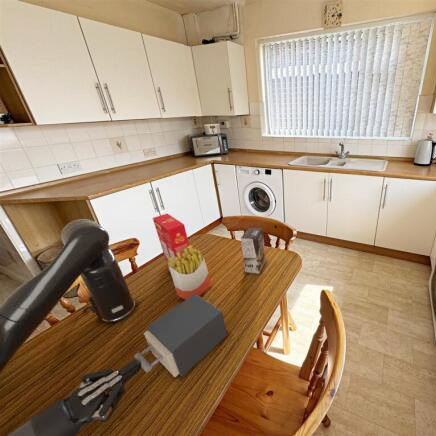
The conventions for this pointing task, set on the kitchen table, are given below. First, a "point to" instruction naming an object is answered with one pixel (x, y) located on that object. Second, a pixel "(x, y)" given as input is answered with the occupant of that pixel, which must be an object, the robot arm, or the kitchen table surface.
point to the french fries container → (189, 273)
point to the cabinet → (190, 331)
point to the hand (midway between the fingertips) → (139, 363)
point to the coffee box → (253, 250)
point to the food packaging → (171, 236)
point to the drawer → (157, 355)
